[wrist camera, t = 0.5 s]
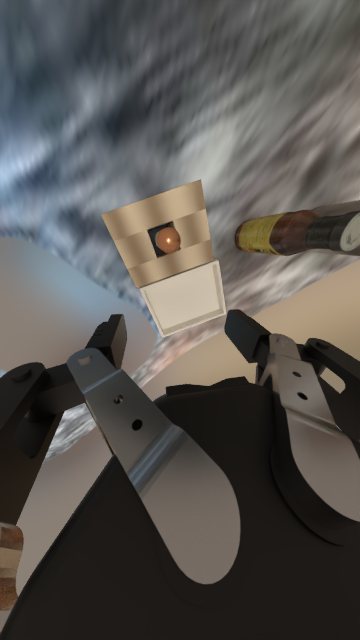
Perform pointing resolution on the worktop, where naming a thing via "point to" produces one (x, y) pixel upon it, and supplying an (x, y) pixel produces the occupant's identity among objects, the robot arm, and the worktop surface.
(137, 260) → the block
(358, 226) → the sauce bottle
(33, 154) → the worktop surface
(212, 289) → the tray
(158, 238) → the copper and grey cylinder
